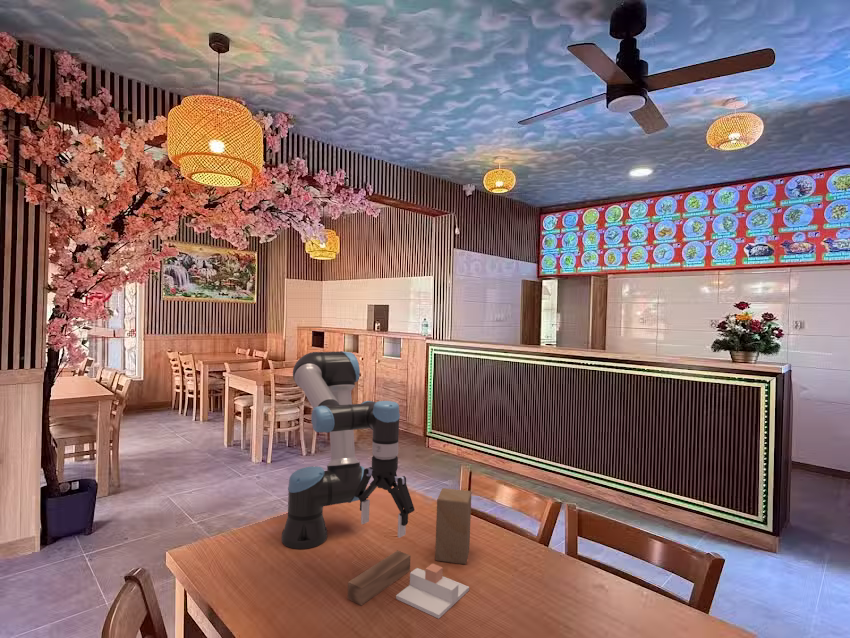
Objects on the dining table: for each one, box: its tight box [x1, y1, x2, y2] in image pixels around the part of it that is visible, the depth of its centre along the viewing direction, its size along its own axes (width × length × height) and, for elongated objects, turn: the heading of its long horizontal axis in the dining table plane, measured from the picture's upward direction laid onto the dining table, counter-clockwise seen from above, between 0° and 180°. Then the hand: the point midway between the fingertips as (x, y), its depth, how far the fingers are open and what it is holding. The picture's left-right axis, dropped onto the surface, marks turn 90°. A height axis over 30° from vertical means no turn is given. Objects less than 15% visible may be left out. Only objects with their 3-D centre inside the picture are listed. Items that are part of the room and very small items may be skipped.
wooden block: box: [434, 487, 472, 565], centre depth 156 cm, size 10×10×20 cm
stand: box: [395, 562, 470, 619], centre depth 134 cm, size 14×16×8 cm
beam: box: [347, 550, 411, 607], centre depth 139 cm, size 5×22×5 cm, turn 146°
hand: (382, 529), depth 138 cm, fingers open, 13 cm apart
